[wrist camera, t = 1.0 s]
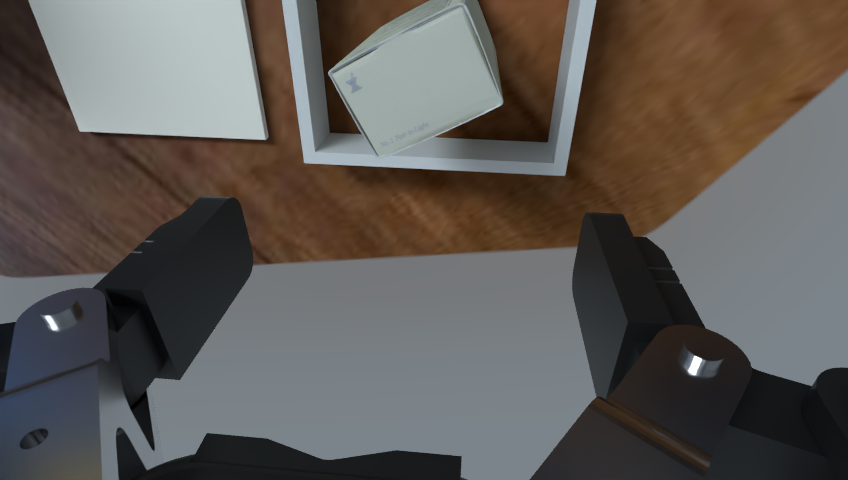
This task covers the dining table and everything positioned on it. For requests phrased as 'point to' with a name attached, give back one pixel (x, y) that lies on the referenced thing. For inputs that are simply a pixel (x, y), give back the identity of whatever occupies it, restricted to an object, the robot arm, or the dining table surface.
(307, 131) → the white square frame
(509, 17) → the dining table surface
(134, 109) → the cream tile
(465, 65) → the skincare box
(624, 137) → the dining table surface
